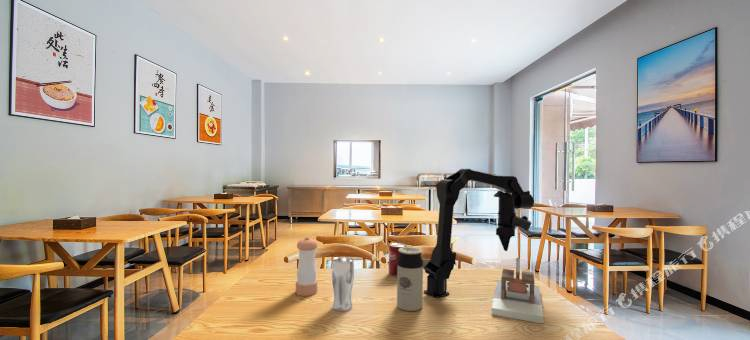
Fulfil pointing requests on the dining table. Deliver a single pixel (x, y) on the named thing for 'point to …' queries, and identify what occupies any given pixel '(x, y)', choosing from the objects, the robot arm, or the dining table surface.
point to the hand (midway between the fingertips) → (505, 250)
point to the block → (517, 286)
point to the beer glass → (342, 282)
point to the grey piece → (515, 294)
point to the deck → (518, 305)
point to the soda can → (394, 257)
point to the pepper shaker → (306, 268)
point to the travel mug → (410, 279)
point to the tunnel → (509, 276)
